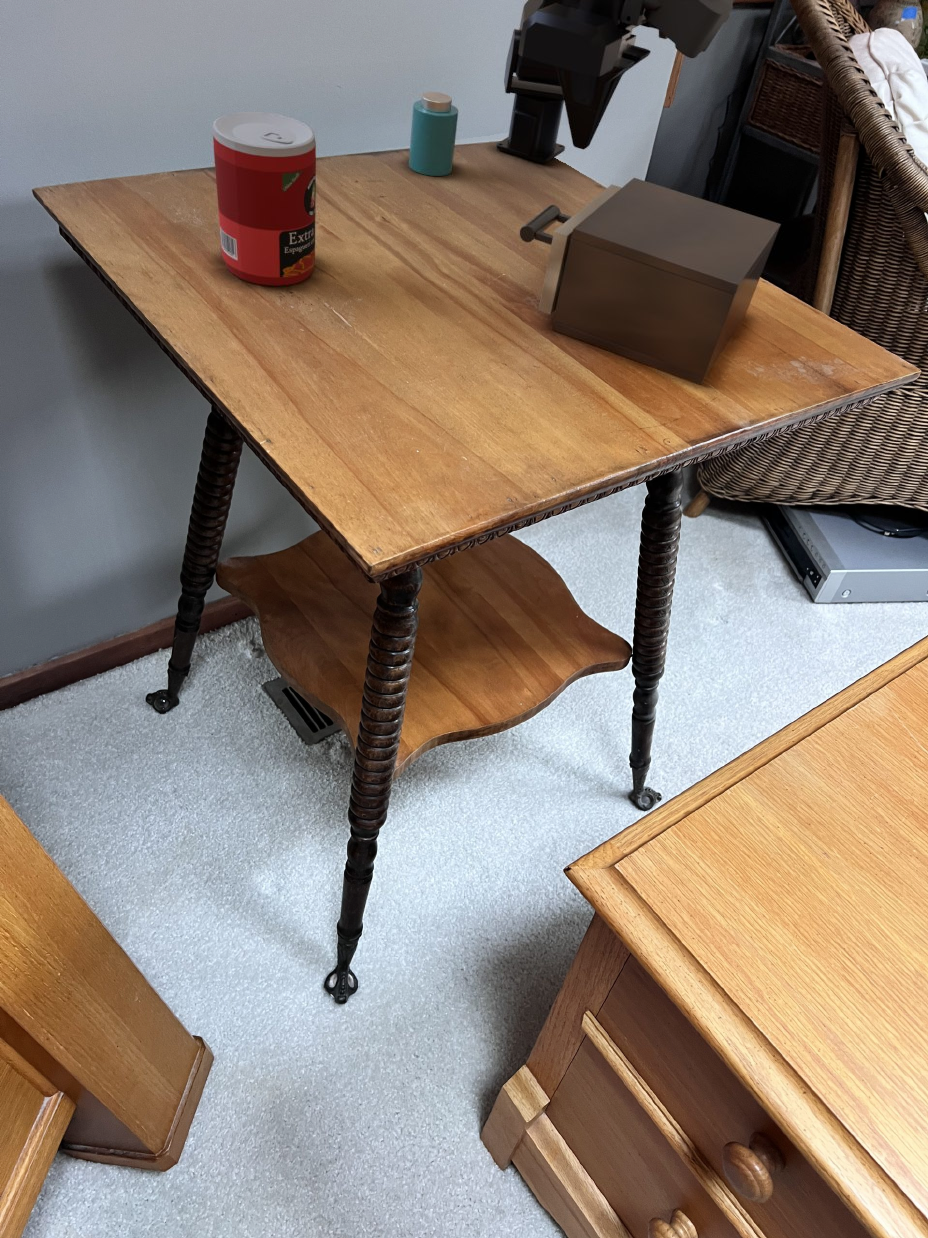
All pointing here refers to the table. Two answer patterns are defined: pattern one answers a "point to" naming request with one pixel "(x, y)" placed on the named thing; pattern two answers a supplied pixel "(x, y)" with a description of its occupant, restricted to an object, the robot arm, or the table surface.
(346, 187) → the table surface
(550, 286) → the drawer
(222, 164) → the canned food
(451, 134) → the teal bottle
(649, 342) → the cabinet
